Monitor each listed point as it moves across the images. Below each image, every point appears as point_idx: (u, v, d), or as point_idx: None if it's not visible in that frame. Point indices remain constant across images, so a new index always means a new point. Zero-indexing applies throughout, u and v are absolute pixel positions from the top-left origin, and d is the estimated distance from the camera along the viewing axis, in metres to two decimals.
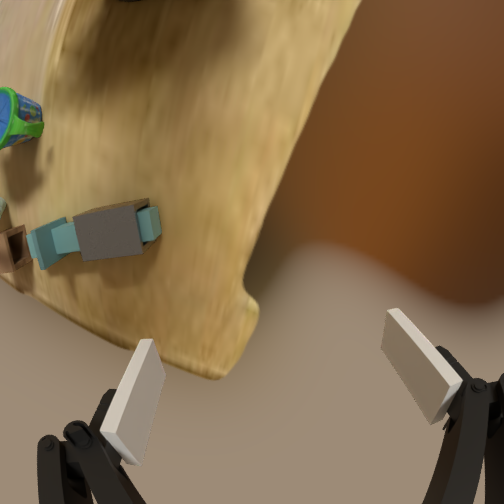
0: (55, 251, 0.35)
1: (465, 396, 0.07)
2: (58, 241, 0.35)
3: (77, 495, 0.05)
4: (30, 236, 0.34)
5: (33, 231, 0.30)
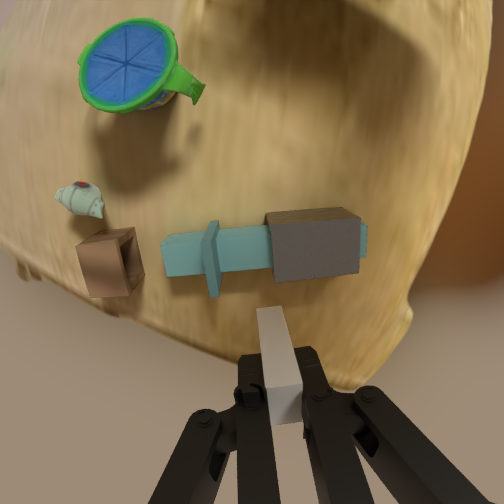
0: (219, 268, 0.32)
1: (308, 409, 0.09)
2: (227, 255, 0.31)
3: (210, 478, 0.07)
4: (170, 246, 0.31)
5: (207, 243, 0.27)
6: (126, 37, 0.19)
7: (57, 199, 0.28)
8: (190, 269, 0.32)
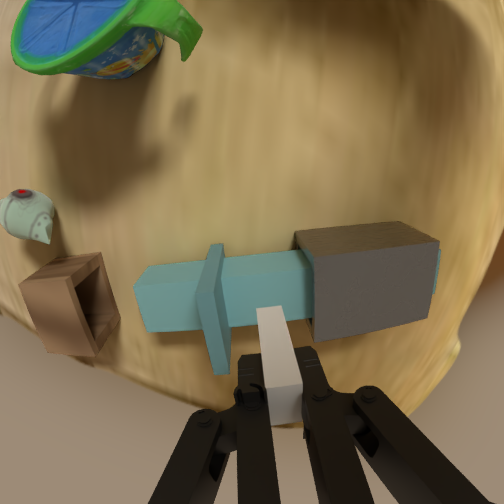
0: (228, 322, 0.20)
1: (308, 409, 0.09)
2: (239, 303, 0.19)
3: (210, 478, 0.07)
4: (148, 289, 0.19)
5: (207, 295, 0.15)
6: None
7: None
8: (181, 323, 0.20)
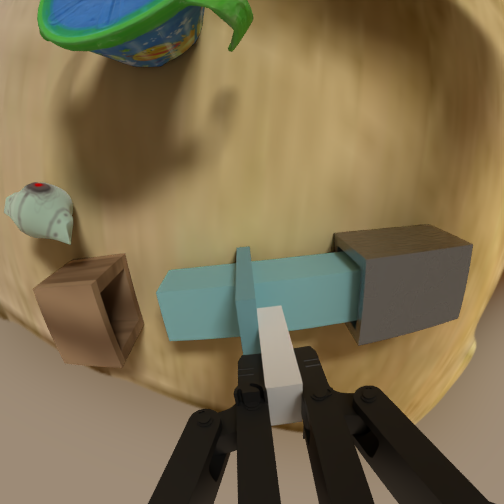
0: None
1: (307, 409, 0.09)
2: None
3: (210, 478, 0.07)
4: (173, 295, 0.18)
5: (248, 302, 0.14)
6: None
7: (6, 212, 0.15)
8: (208, 331, 0.19)
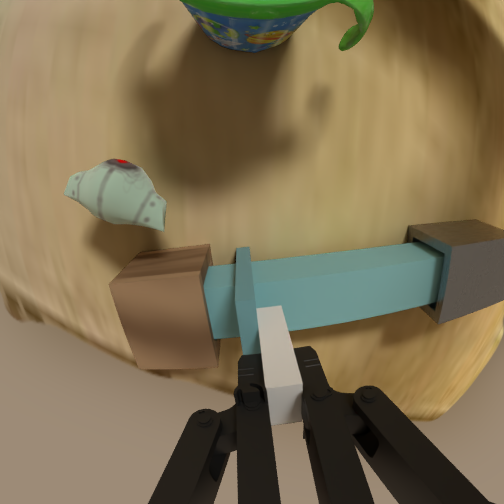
0: None
1: (307, 409, 0.09)
2: None
3: (210, 478, 0.07)
4: None
5: (248, 303, 0.14)
6: None
7: (69, 193, 0.15)
8: None
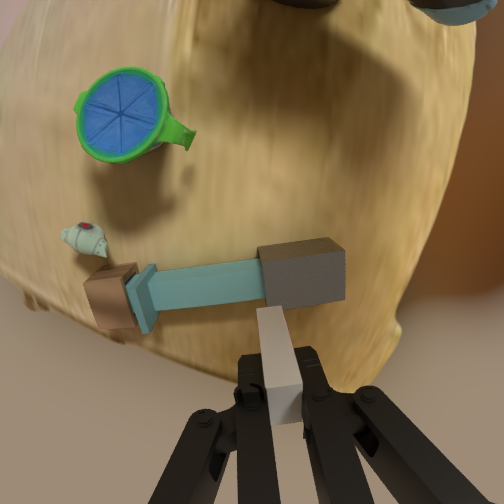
0: (153, 308, 0.34)
1: (308, 409, 0.09)
2: (158, 296, 0.34)
3: (210, 478, 0.07)
4: None
5: (133, 290, 0.29)
6: (118, 86, 0.22)
7: (62, 239, 0.31)
8: None
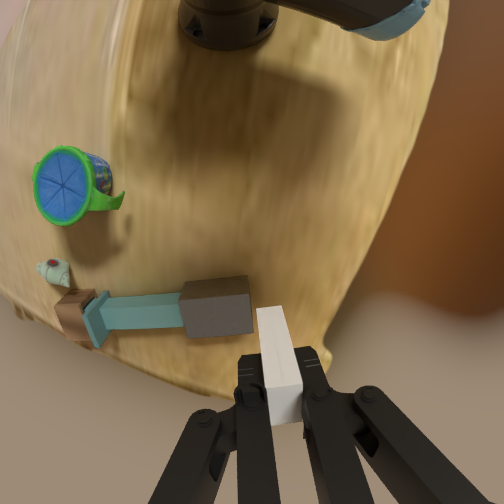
0: (105, 327, 0.40)
1: (308, 409, 0.09)
2: (107, 319, 0.40)
3: (210, 478, 0.07)
4: None
5: (85, 316, 0.35)
6: (59, 163, 0.28)
7: (37, 271, 0.37)
8: None
